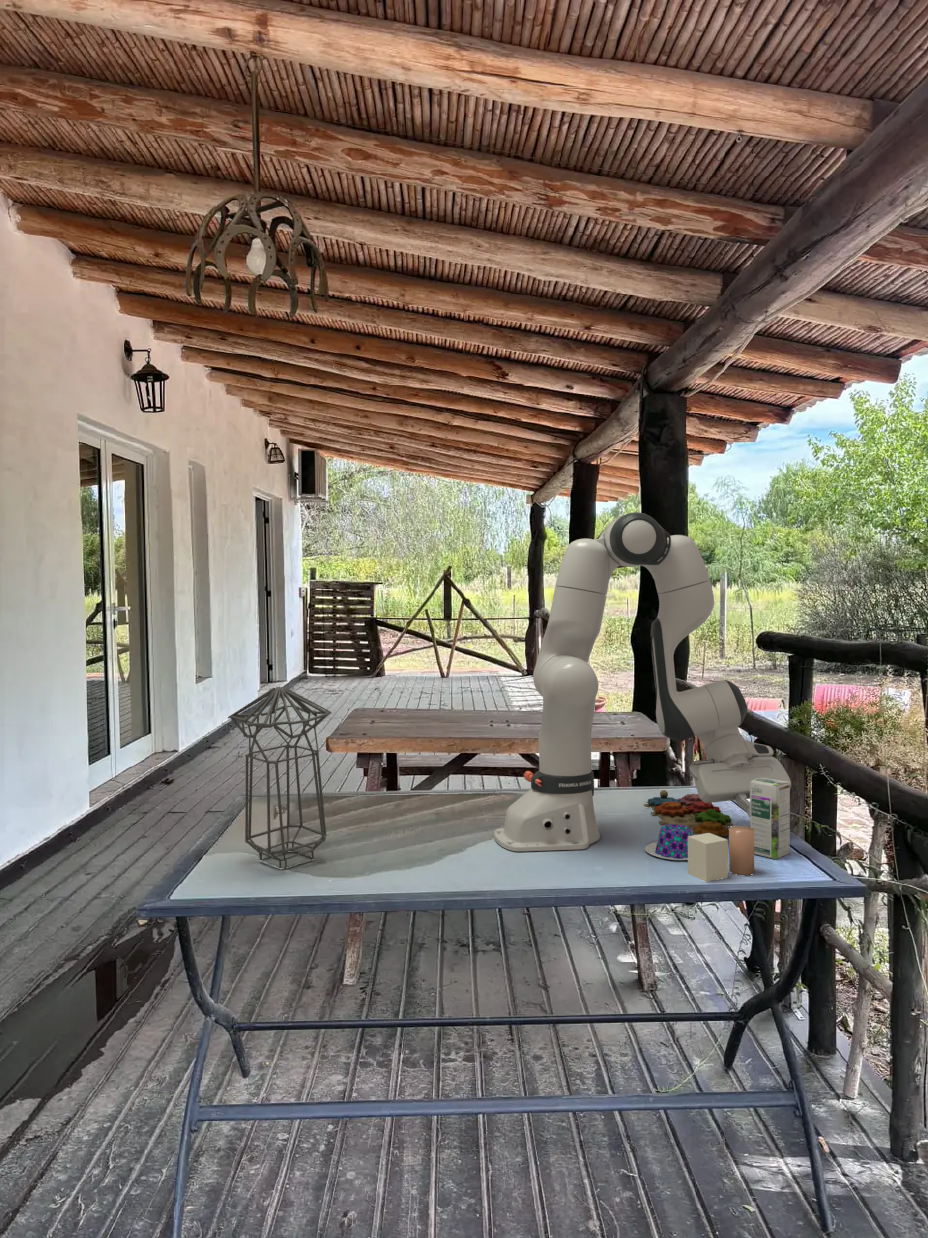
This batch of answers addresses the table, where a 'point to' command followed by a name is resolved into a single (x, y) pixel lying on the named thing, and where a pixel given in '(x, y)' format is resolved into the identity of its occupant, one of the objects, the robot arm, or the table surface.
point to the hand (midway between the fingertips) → (758, 815)
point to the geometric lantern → (297, 698)
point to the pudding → (671, 842)
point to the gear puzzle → (690, 814)
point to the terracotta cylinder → (741, 850)
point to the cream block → (707, 857)
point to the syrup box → (770, 817)
